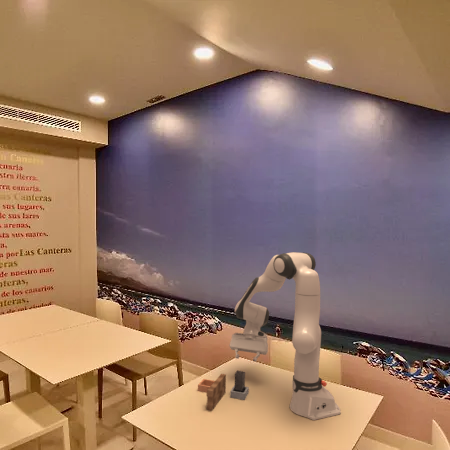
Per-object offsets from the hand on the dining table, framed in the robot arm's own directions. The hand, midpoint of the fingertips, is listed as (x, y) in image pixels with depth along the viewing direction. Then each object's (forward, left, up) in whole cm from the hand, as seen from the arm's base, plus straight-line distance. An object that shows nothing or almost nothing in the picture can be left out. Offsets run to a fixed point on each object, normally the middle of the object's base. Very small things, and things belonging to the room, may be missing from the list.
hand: (245, 359), depth 180 cm
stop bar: (+5, +8, -14) cm, 17 cm away
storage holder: (+5, +8, -14) cm, 17 cm away
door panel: (+17, +12, -14) cm, 25 cm away
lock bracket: (+20, 0, -14) cm, 24 cm away
